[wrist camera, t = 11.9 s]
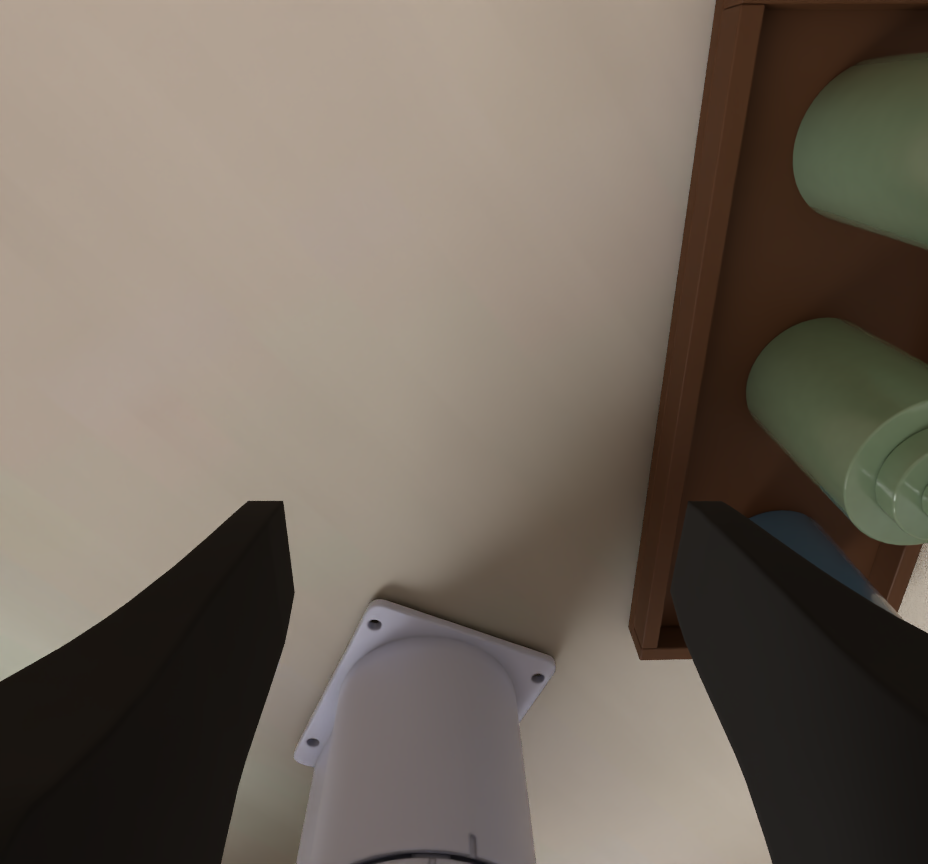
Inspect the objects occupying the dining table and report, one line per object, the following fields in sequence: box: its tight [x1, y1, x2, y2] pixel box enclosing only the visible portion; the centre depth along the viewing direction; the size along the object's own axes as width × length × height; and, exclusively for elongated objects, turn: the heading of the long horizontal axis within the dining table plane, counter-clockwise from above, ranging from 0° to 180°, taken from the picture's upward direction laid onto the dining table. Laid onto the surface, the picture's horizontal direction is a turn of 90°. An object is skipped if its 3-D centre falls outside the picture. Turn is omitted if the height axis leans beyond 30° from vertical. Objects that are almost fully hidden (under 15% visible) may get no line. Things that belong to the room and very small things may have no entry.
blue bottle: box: [748, 510, 903, 620], centre depth 21 cm, size 4×4×9 cm
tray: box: [628, 0, 928, 660], centre depth 21 cm, size 21×9×2 cm, turn 0°
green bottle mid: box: [746, 318, 928, 545], centre depth 18 cm, size 4×4×9 cm
